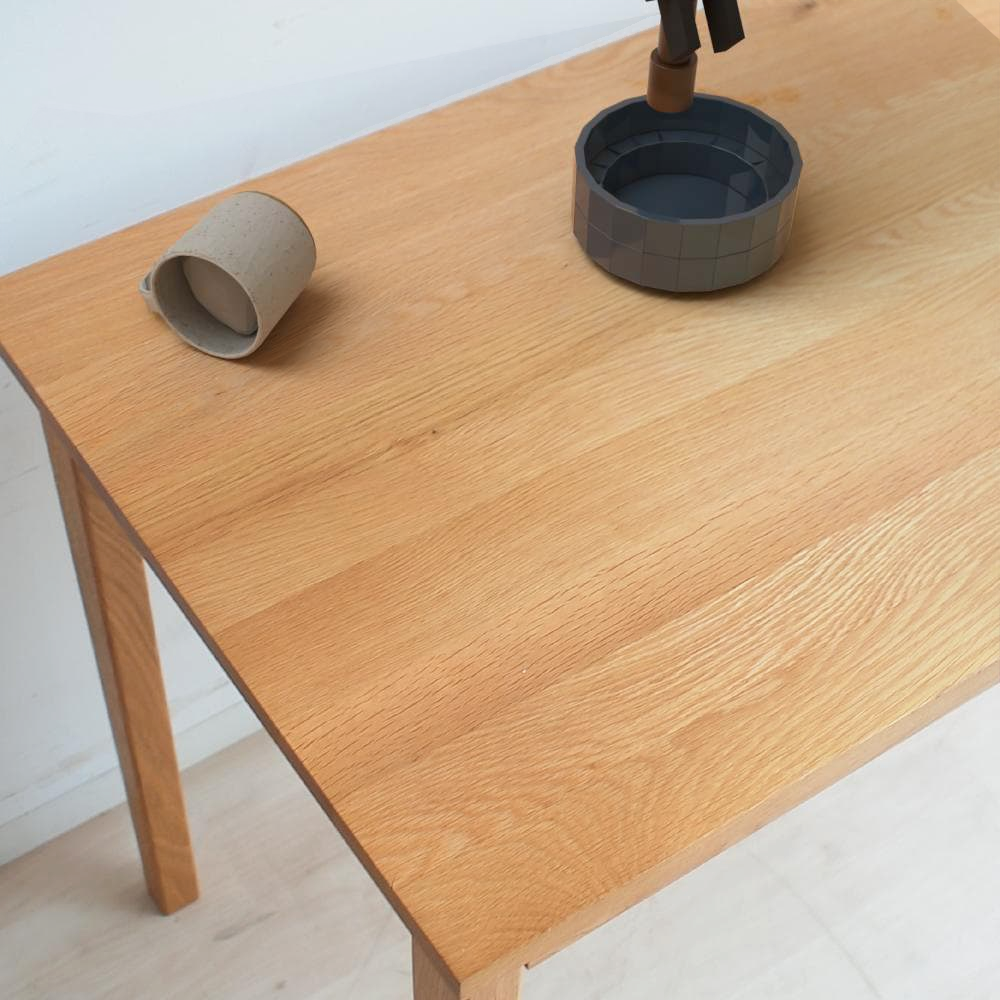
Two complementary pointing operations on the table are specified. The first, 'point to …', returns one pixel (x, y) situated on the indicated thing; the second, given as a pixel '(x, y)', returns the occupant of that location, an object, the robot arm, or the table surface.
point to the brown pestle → (671, 77)
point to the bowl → (685, 192)
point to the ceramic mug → (232, 274)
